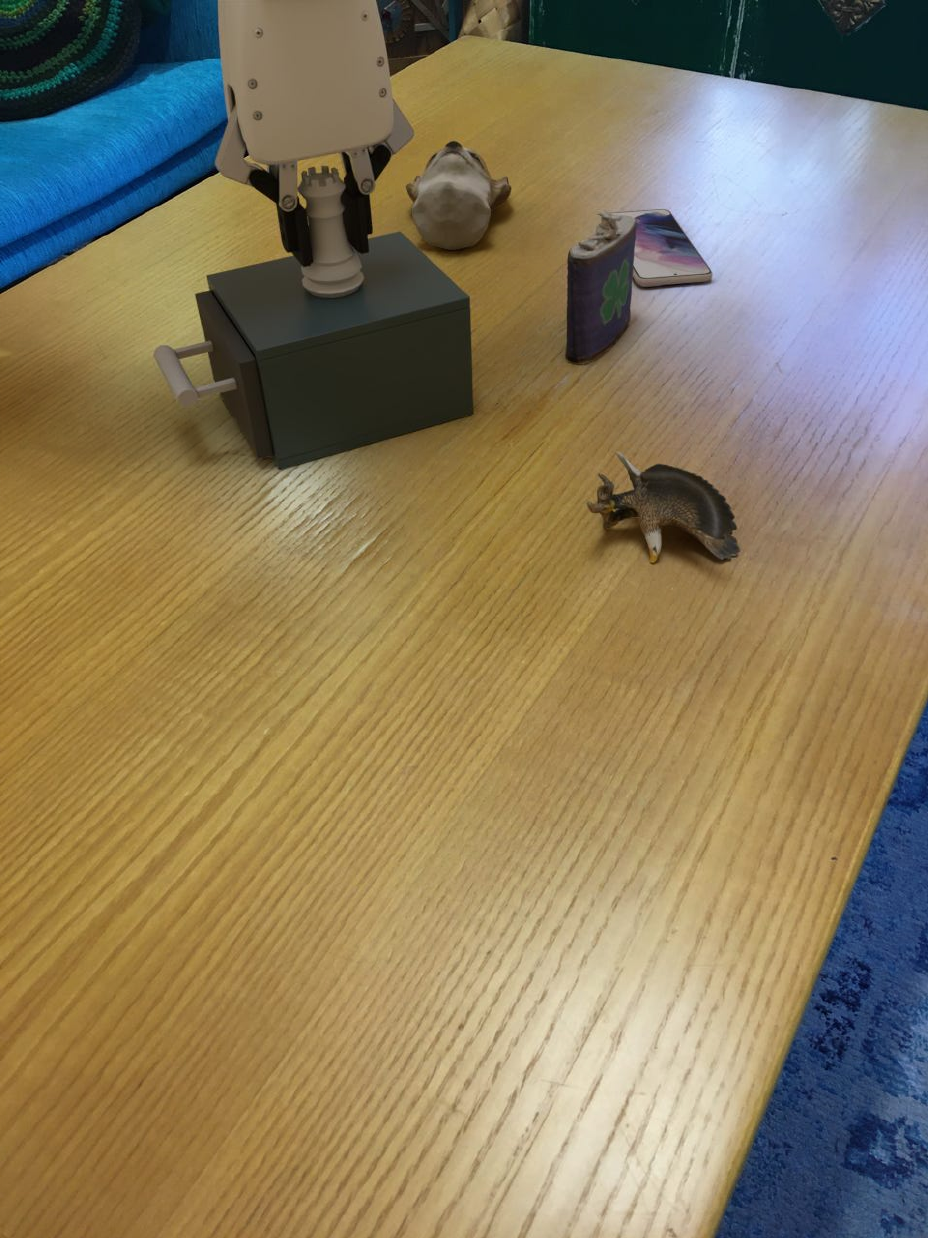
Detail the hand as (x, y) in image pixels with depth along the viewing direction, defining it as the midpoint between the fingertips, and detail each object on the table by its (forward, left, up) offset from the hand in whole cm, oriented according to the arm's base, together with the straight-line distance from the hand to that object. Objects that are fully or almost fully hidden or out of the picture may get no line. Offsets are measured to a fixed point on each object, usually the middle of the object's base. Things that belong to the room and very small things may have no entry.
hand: (329, 249), depth 75 cm
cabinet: (0, 0, -12) cm, 12 cm away
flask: (+22, -1, -12) cm, 25 cm away
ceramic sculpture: (+21, +25, -12) cm, 35 cm away
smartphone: (+35, +11, -12) cm, 39 cm away
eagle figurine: (+12, -26, -12) cm, 31 cm away
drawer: (-4, 0, -11) cm, 12 cm away
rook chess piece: (0, 0, -3) cm, 3 cm away
